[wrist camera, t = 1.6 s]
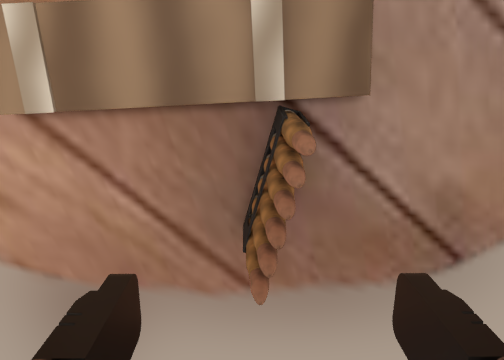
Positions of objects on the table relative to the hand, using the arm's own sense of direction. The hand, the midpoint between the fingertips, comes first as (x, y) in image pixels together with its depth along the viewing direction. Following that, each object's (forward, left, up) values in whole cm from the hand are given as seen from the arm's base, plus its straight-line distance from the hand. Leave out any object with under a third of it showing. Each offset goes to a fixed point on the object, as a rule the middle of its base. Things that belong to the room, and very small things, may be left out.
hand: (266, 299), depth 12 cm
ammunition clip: (-1, +1, -20) cm, 20 cm away
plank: (+5, -8, -20) cm, 22 cm away
